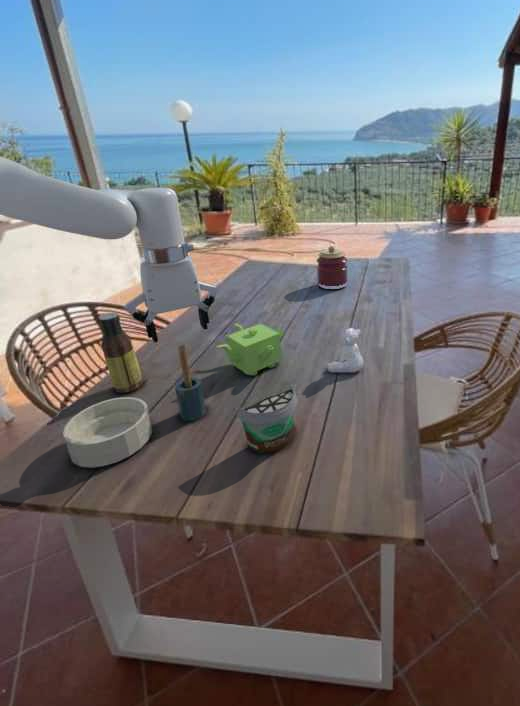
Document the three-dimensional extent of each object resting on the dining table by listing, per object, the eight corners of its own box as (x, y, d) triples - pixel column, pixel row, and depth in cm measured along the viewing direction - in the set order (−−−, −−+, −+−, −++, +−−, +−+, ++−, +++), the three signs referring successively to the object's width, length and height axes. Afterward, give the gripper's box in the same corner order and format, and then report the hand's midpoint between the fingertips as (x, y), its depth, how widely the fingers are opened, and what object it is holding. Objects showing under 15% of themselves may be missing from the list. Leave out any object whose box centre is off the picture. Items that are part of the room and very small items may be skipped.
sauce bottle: (140, 377, 102) (124, 307, 95) (145, 388, 97) (129, 315, 90) (111, 386, 98) (92, 314, 91) (115, 398, 93) (96, 323, 87)
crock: (176, 420, 86) (170, 389, 83) (189, 405, 90) (184, 376, 88) (197, 422, 85) (192, 391, 82) (210, 408, 90) (205, 378, 87)
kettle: (221, 381, 100) (215, 342, 96) (235, 353, 113) (230, 318, 110) (280, 379, 101) (276, 340, 97) (286, 352, 114) (284, 317, 110)
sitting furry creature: (344, 356, 112) (343, 318, 108) (370, 363, 108) (371, 324, 104) (326, 371, 104) (324, 331, 100) (354, 380, 100) (353, 338, 96)
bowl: (52, 465, 74) (43, 439, 72) (109, 416, 87) (103, 394, 85) (119, 474, 71) (111, 448, 69) (167, 423, 85) (162, 400, 83)
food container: (255, 468, 73) (249, 424, 69) (241, 449, 77) (236, 407, 74) (310, 438, 80) (308, 397, 77) (295, 423, 85) (292, 384, 81)
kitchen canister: (342, 291, 162) (342, 250, 156) (313, 289, 165) (311, 249, 159) (350, 282, 174) (350, 243, 168) (323, 279, 177) (321, 241, 171)
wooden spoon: (191, 416, 86) (179, 348, 80) (188, 410, 88) (176, 343, 82) (197, 413, 87) (186, 346, 81) (194, 407, 89) (183, 341, 83)
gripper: (205, 243, 83) (216, 317, 89) (111, 257, 73) (131, 338, 79) (216, 250, 77) (227, 328, 83) (115, 266, 67) (136, 353, 73)
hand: (180, 333), depth 81 cm, fingers open, 9 cm apart
